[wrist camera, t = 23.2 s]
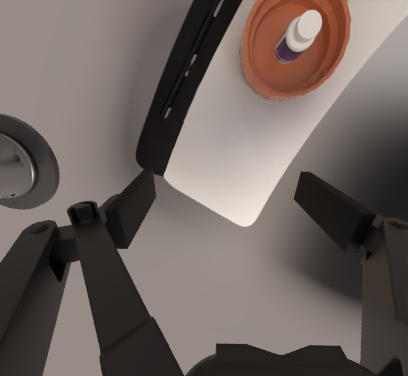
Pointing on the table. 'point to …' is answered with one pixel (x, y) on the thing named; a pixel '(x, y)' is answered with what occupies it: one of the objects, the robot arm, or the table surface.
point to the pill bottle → (298, 36)
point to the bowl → (307, 61)
